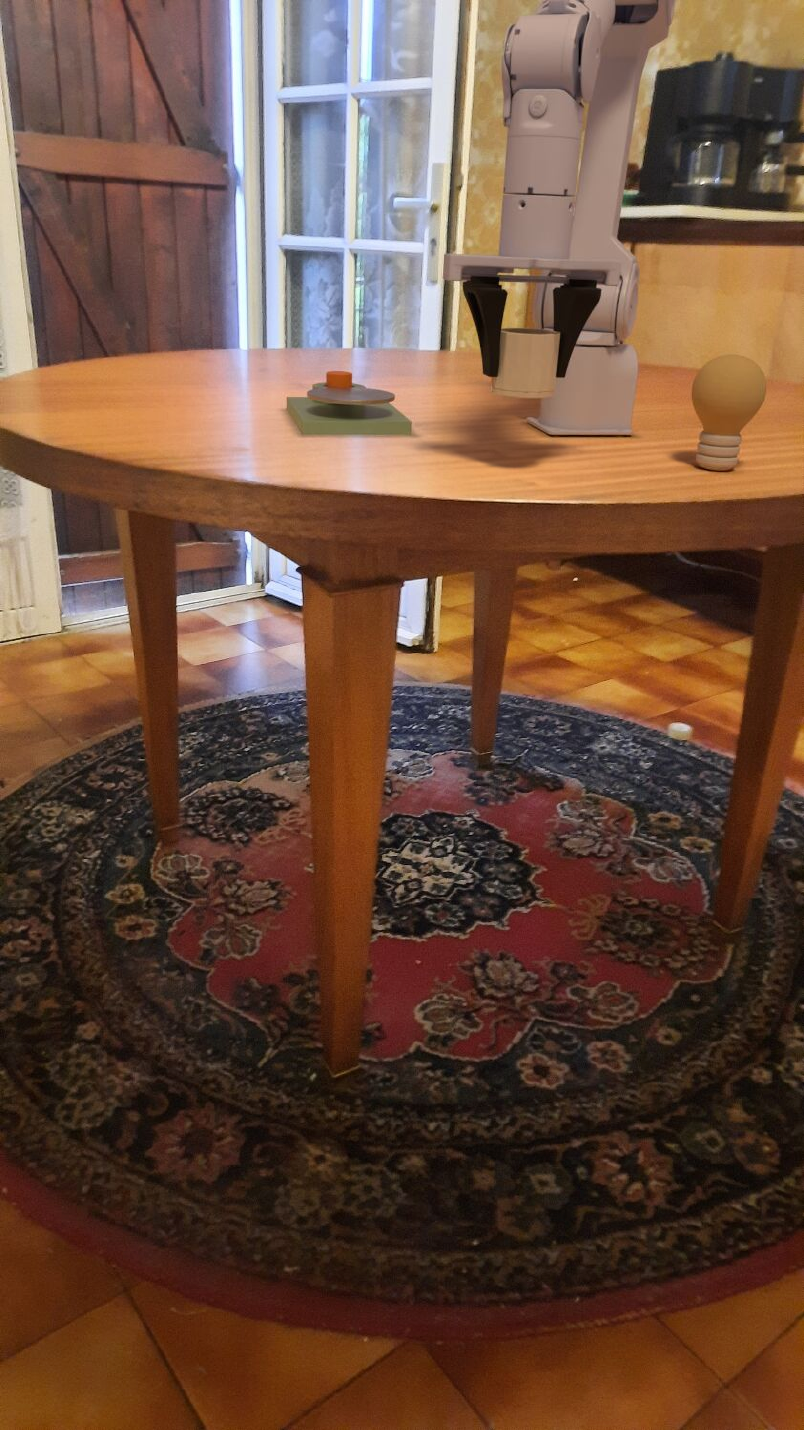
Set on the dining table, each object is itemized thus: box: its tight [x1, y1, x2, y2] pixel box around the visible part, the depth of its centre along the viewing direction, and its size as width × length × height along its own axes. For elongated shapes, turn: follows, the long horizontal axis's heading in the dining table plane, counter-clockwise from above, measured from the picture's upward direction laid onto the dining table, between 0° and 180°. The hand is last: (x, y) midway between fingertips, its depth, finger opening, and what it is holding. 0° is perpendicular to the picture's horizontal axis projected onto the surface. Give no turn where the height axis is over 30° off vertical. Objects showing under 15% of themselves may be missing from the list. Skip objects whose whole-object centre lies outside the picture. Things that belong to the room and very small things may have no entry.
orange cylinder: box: [325, 370, 353, 387], centre depth 111 cm, size 3×3×2 cm
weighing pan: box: [306, 387, 396, 405], centre depth 104 cm, size 9×9×1 cm
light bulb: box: [691, 354, 767, 472], centre depth 92 cm, size 6×6×10 cm
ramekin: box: [490, 327, 561, 399], centre depth 86 cm, size 5×5×5 cm
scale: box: [286, 381, 413, 436], centre depth 108 cm, size 15×11×3 cm
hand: (523, 376), depth 86 cm, fingers closed on ramekin, 5 cm apart
